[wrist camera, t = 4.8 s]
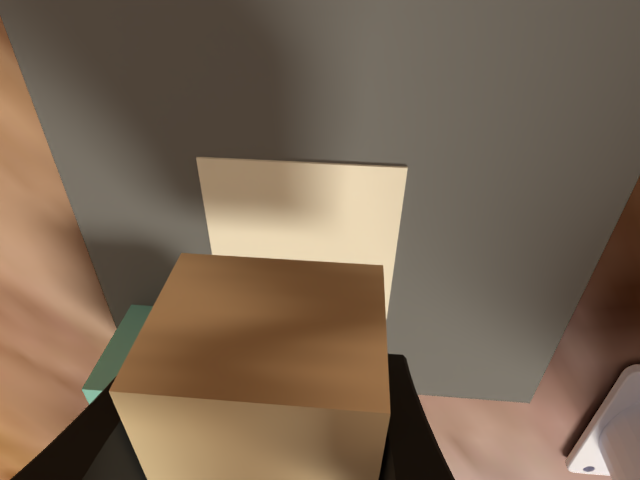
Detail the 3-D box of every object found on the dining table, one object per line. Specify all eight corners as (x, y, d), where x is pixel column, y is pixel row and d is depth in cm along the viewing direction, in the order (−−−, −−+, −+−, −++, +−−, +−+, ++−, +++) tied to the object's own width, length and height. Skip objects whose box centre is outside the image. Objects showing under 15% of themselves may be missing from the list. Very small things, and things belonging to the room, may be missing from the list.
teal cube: (228, 311, 18) (199, 398, 15) (238, 373, 21) (214, 460, 17) (131, 304, 18) (81, 389, 15) (151, 367, 21) (113, 452, 18)
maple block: (383, 265, 11) (390, 413, 8) (367, 389, 14) (368, 534, 11) (181, 253, 11) (108, 390, 8) (208, 377, 14) (162, 515, 11)
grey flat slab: (768, -113, 10) (782, -113, 9) (528, 396, 20) (530, 405, 20) (-41, -122, 11) (-54, -122, 10) (135, 367, 21) (132, 374, 21)
